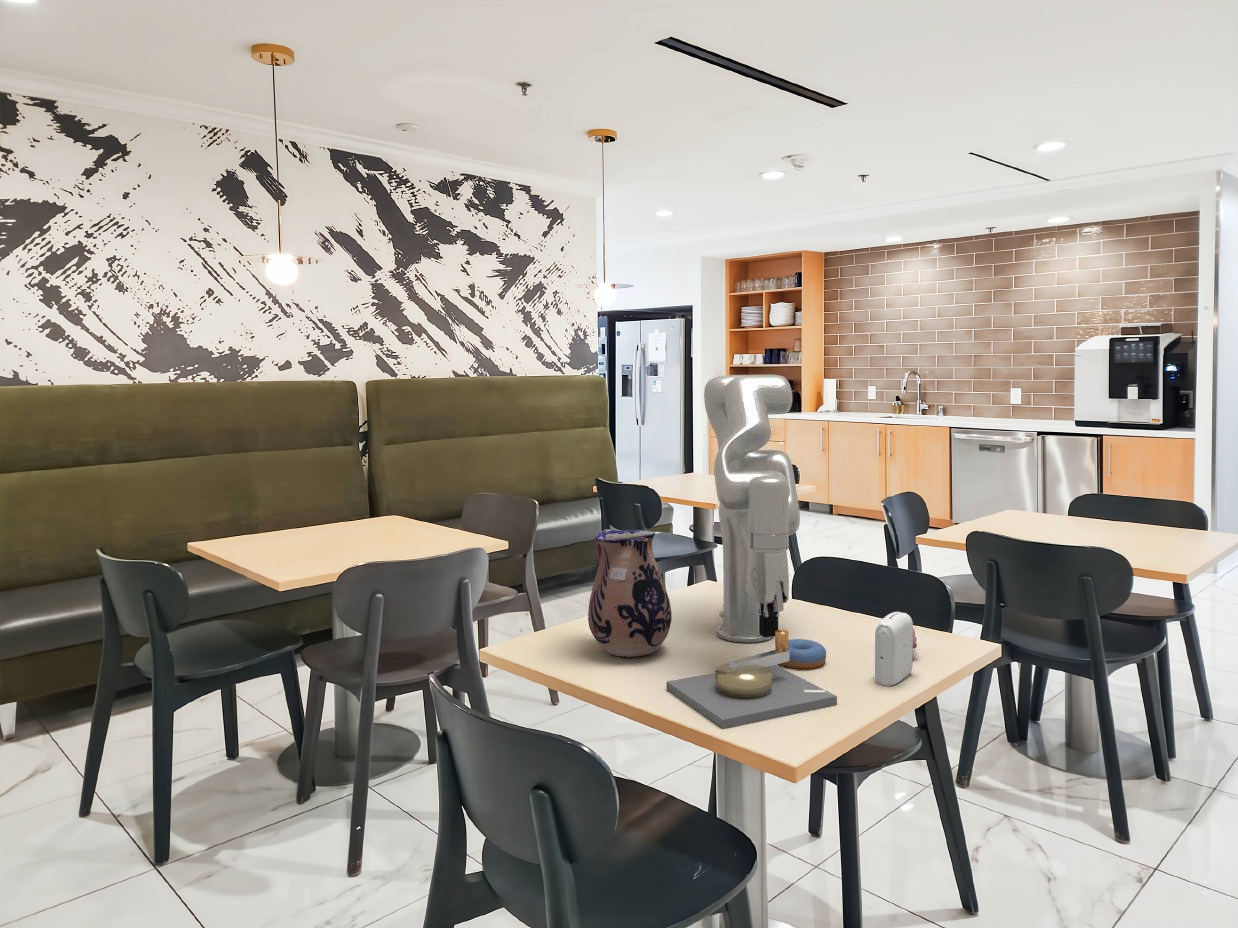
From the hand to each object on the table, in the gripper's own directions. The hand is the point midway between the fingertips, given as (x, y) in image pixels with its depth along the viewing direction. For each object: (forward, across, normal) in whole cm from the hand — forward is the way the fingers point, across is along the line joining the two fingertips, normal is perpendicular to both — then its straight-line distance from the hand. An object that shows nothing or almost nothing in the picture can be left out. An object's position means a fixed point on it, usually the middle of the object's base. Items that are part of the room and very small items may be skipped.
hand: (768, 635), depth 164 cm
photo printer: (+8, +9, +22) cm, 25 cm away
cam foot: (+6, +9, -7) cm, 12 cm away
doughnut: (+8, -5, +9) cm, 13 cm away
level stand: (+8, +10, -8) cm, 15 cm away
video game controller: (+8, -4, +30) cm, 32 cm away
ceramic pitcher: (+8, -23, -23) cm, 33 cm away
